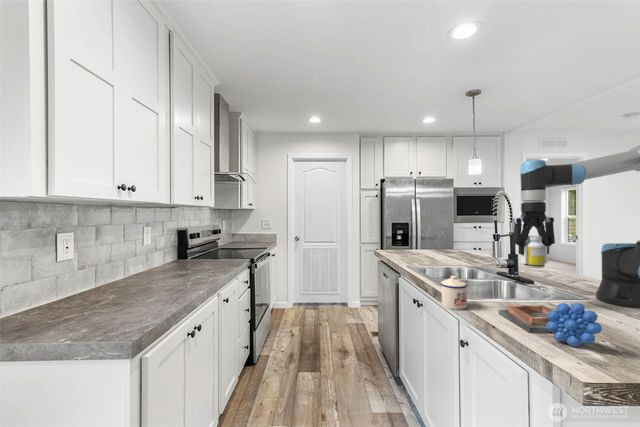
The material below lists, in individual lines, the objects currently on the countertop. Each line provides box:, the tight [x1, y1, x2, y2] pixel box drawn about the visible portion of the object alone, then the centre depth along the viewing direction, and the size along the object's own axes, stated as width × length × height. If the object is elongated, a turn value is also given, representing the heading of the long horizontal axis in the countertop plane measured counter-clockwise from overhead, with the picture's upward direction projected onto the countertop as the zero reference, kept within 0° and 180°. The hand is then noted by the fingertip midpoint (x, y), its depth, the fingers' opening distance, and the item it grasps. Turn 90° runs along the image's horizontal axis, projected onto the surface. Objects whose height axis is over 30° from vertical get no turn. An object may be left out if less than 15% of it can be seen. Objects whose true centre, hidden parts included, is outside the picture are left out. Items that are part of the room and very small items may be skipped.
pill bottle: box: [522, 235, 546, 269], centre depth 109 cm, size 6×6×12 cm
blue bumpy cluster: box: [546, 302, 603, 348], centre depth 79 cm, size 12×7×12 cm, turn 36°
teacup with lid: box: [440, 275, 468, 311], centre depth 112 cm, size 12×9×12 cm
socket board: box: [498, 304, 556, 334], centre depth 95 cm, size 16×16×4 cm
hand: (533, 262), depth 109 cm, fingers closed on pill bottle, 6 cm apart
